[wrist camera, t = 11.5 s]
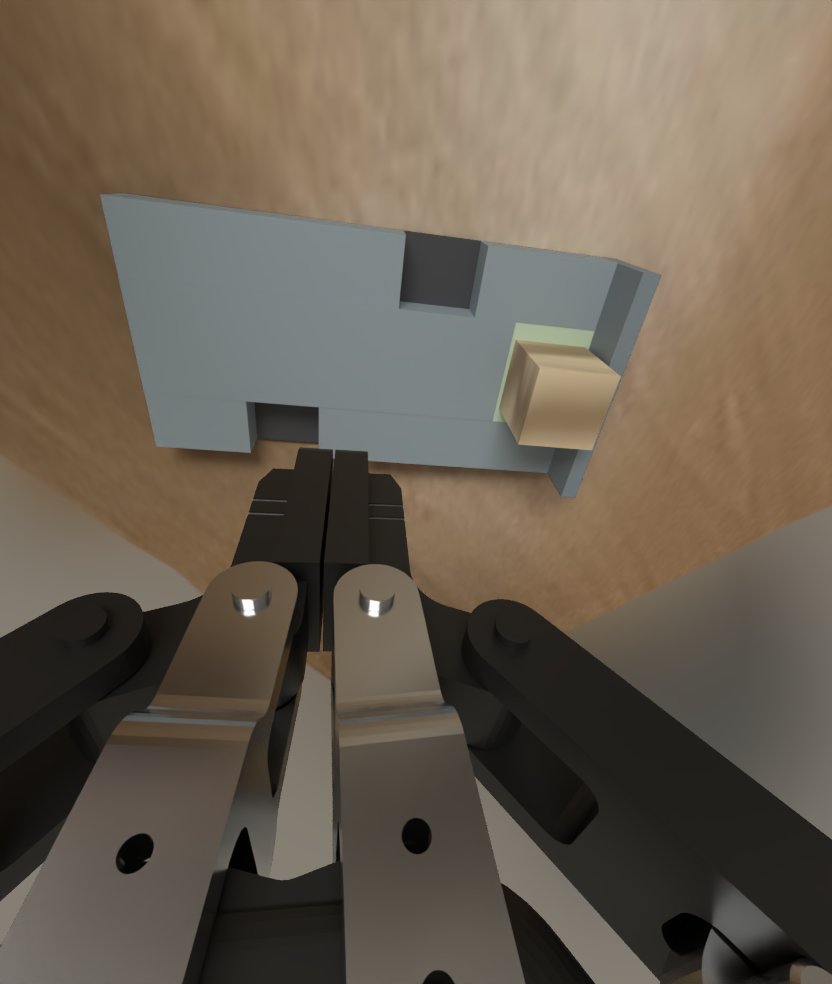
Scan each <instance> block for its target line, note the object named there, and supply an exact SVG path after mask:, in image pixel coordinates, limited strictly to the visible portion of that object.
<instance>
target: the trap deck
mask: <svg viewBox="0 0 832 984" xmlns="http://www.w3.org/2000/svg"><path fill="white" fill-rule="evenodd" d="M100 197H101V202H102V206H103V210H104V215H105V219H106V224H107V228H108V233H109V237H110V242H111V246H112V251H113V255H114V260H115V264H116V269H117V273H118V277H119V278H118V279H119V283H120V288H121V292H122V297H123V301H124V305H125V310H126V314H127V319H128V323H129V328H130V332H131V337H132V341H133V346H134V350H135V354H136V359H137V363H138V368H139V372H140V377H141V381H142V386H143V390H144V393H145V398H146V402H147V407H148V411H149V416H150V420H151V425H152V429H153V434H154V438H155V443H156V447H171V448H186V449H201V450H215V451H230V452H245V453H251V451H252V449H253V447H254V445H255V443H256V440H257V438H258V439H272V440H286V441H300V442H314V443H319V449H333V459H335V450H353V451H368V461H377V462H392V463H406V464H421V465H436V466H450V467H465V468H480V469H494V470H509V471H524V472H539V473H548V475H549V477H550V479H551V480H552V482H553V484H554V485H555V487H556V489H557V491H558V492H559V494H560V496H561V497H570V498H575V497H576V494H577V491H578V489H579V486H580V484H581V481H582V479H583V476H584V473H585V471H586V468H587V466H588V463H589V461H590V458H591V455H592V453H593V450H594V448H595V445H596V443H597V440H598V437H599V435H600V432H601V430H602V427H603V425H604V422H605V419H606V417H607V414H608V412H609V409H610V407H611V404H612V401H613V399H614V396H615V394H616V391H617V389H618V386H619V383H620V381H621V378H622V376H623V373H624V370H625V368H626V365H627V363H628V360H629V358H630V355H631V352H632V350H633V347H634V345H635V342H636V340H637V337H638V334H639V332H640V329H641V327H642V324H643V322H644V319H645V316H646V314H647V311H648V309H649V306H650V304H651V301H652V298H653V296H654V293H655V291H656V288H657V286H658V283H659V280H660V278H661V275H660V274H657V273H654V272H652V271H649V270H646V269H643V268H640V267H637V266H635V265H632V264H629V263H626V262H623V261H620V260H617V259H612V258H605V257H597V256H590V255H582V254H575V253H567V252H560V251H552V250H545V249H537V248H530V247H522V246H515V245H507V244H500V243H492V242H485V241H477V240H470V239H462V238H455V237H447V236H440V235H432V234H425V233H417V232H410V231H403V230H395V229H388V228H380V227H373V226H365V225H358V224H350V223H343V222H335V221H328V220H320V219H313V218H305V217H298V216H290V215H283V214H275V213H268V212H260V211H253V210H245V209H238V208H230V207H223V206H215V205H208V204H200V203H193V202H185V201H178V200H170V199H163V198H155V197H148V196H140V195H133V194H126V193H116V194H102V195H100ZM516 340H523V341H532V342H541V343H550V344H560V345H569V346H578V347H586V348H587V349H588V350H589V351H590V352H592V353H593V354H594V355H595V356H597V357H598V358H599V359H600V360H601V361H603V362H604V363H605V364H606V365H607V366H609V367H610V368H611V369H612V370H614V371H615V372H616V373H617V374H618V375H620V376H621V377H620V380H619V382H618V385H617V388H616V390H615V393H614V395H613V398H612V400H611V403H610V406H609V408H608V411H607V413H606V416H605V418H604V421H603V423H602V426H601V429H600V431H599V434H598V436H597V439H596V441H595V444H594V446H593V449H592V450H582V449H569V448H556V447H544V446H531V445H518V443H517V441H516V439H515V437H514V436H513V434H512V432H511V430H510V428H509V426H508V424H507V422H506V420H505V418H504V417H503V415H502V413H501V411H500V409H499V406H500V402H501V398H502V394H503V390H504V386H505V382H506V377H507V373H508V369H509V365H510V361H511V357H512V353H513V349H514V345H515V341H516Z"/></svg>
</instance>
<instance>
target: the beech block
mask: <svg viewBox="0 0 832 984" xmlns="http://www.w3.org/2000/svg"><path fill="white" fill-rule="evenodd" d="M620 377H621V376H620V375H618V374H617V373H616V372H615V371H614V370H612V369H611V368H610V367H609V366H607V365H606V364H605V363H604V362H603V361H601V360H600V359H599V358H598V357H597V356H595V355H594V354H593V353H592V352H590V351H589V350H588V349H587V348H586V347H578V346H569V345H560V344H550V343H541V342H532V341H523V340H516V341H515V345H514V349H513V353H512V357H511V361H510V365H509V369H508V373H507V377H506V382H505V386H504V390H503V394H502V398H501V402H500V406H499V409H500V411H501V413H502V415H503V417H504V418H505V420H506V422H507V424H508V426H509V428H510V430H511V432H512V434H513V436H514V437H515V439H516V441H517V443H518V445H531V446H544V447H556V448H569V449H582V450H592V449H593V446H594V444H595V441H596V439H597V436H598V434H599V431H600V429H601V426H602V423H603V421H604V418H605V416H606V413H607V411H608V408H609V406H610V403H611V400H612V398H613V395H614V393H615V390H616V388H617V385H618V382H619V380H620Z"/></svg>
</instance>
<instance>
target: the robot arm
mask: <svg viewBox="0 0 832 984" xmlns="http://www.w3.org/2000/svg"><path fill="white" fill-rule="evenodd" d="M322 619H323V651H332V668H331V735H332V788H333V789H332V790H333V792H332V794H333V863H332V864H330V865H327V866H325V867H322V868H319V869H317V870H314V871H312V872H309V873H307V874H304V875H302V876H299V877H296V878H293V879H290V880H282V881H281V880H275V879H271V878H269V876H270V870H271V865H272V859H273V853H274V846H275V838H276V827H277V815H278V808H279V802H280V796H281V791H282V786H283V781H284V776H285V771H286V766H287V761H288V756H289V751H290V746H291V741H292V736H293V731H294V726H295V721H296V716H297V711H298V706H299V701H300V697H301V688H302V682H303V679H304V674H305V666H306V658H307V652H319V651H320V640H321V629H322ZM475 777H476V778H477V779H478V780H479V781H480V782H481V783H482V785H483V786H484V787H485V788H486V789H487V790H488V791H489V792H490V794H491V795H492V796H493V797H494V798H495V799H496V800H497V801H498V802H499V804H500V805H501V806H502V807H503V808H504V809H505V810H506V811H507V812H508V813H509V815H510V816H511V817H512V818H513V819H514V820H515V821H516V822H517V823H518V824H519V826H520V827H521V828H522V829H523V830H524V831H525V832H526V833H527V834H528V835H529V837H530V838H531V839H532V840H533V841H534V842H535V843H536V844H537V846H538V847H539V848H540V849H541V850H542V851H543V852H544V853H545V854H546V856H547V857H548V858H549V859H550V860H551V861H552V862H553V863H554V864H555V865H556V867H557V868H558V869H559V870H560V871H561V872H562V873H563V874H564V875H565V877H566V878H567V879H568V880H569V881H570V882H571V883H572V884H573V885H574V886H575V888H576V889H577V890H578V891H579V892H580V893H581V894H582V895H583V897H584V898H585V899H586V900H587V901H588V902H589V903H590V904H591V905H592V906H593V908H594V909H595V910H596V911H597V912H598V913H599V914H600V915H601V916H602V918H603V919H604V920H605V921H606V922H607V923H608V924H609V925H610V926H611V928H612V929H613V930H614V931H615V932H616V933H617V934H618V935H619V936H620V937H621V939H622V940H623V941H624V942H625V943H626V944H627V945H628V946H629V947H630V949H631V950H632V951H633V952H634V953H635V954H636V955H637V956H638V957H639V958H640V960H641V961H642V962H643V963H644V964H645V965H646V966H647V967H648V969H649V970H650V971H651V972H652V973H653V974H654V975H655V976H656V977H657V978H658V980H659V981H660V984H832V840H831V839H830V838H829V837H827V836H826V835H825V834H824V833H822V832H821V831H820V830H819V829H817V828H816V827H814V826H813V825H812V824H811V823H809V822H808V821H807V820H806V819H804V818H803V817H802V816H800V815H799V814H798V813H796V812H795V811H794V810H792V809H791V808H790V807H789V806H787V805H786V804H785V803H784V802H782V801H781V800H779V799H778V798H777V797H776V796H774V795H773V794H772V793H771V792H769V791H768V790H767V789H765V788H764V787H763V786H761V785H760V784H759V783H758V782H756V781H755V780H754V779H752V778H751V777H750V776H748V775H747V774H746V773H744V772H743V771H742V770H741V769H739V768H738V767H737V766H736V765H734V764H733V763H732V762H730V761H729V760H728V759H726V758H725V757H724V756H723V755H721V754H720V753H719V752H717V751H716V750H715V749H713V748H712V747H711V746H709V745H708V744H707V743H706V742H704V741H703V740H702V739H700V738H699V737H698V736H697V735H695V734H694V733H693V732H691V731H690V730H689V729H688V728H686V727H685V726H684V725H682V724H681V723H680V722H678V721H677V720H676V719H675V718H673V717H672V716H671V715H669V714H668V713H666V711H664V710H663V709H662V708H660V707H659V706H658V705H656V704H655V703H654V702H653V701H651V700H650V699H649V698H647V697H646V696H645V695H643V694H642V693H641V692H640V691H638V690H637V689H636V688H634V687H633V686H632V685H630V684H629V683H627V681H625V680H624V679H623V678H621V677H620V676H619V675H617V674H616V673H615V672H614V671H612V670H611V669H610V668H608V667H607V666H606V665H604V664H603V663H602V662H601V661H599V660H598V659H597V658H595V657H594V656H593V655H592V654H590V653H589V652H588V651H586V650H585V649H584V648H582V647H581V646H580V645H579V644H577V643H576V642H575V641H573V640H572V639H571V638H570V637H568V636H567V635H566V634H564V633H563V632H562V631H560V630H559V629H558V628H557V627H555V626H554V625H553V624H551V623H550V622H549V621H547V620H546V619H545V618H544V617H542V616H541V615H540V614H538V613H537V612H536V611H534V610H533V609H531V608H530V607H528V606H526V605H524V604H521V603H518V602H515V601H511V600H504V599H497V600H490V601H487V602H484V603H482V604H480V605H479V606H477V607H476V608H475V609H474V610H473V612H472V613H469V612H465V611H462V610H458V609H455V608H451V607H448V606H445V605H442V604H440V603H438V602H435V601H433V600H432V599H430V598H429V597H427V596H426V595H425V594H424V593H422V592H421V591H420V590H419V588H418V587H417V586H416V584H415V583H414V581H413V579H412V577H411V573H410V566H409V557H408V548H407V539H406V530H405V521H404V511H403V502H402V493H401V488H400V487H399V485H398V484H397V483H396V481H395V480H394V479H393V477H392V476H391V475H389V474H370V473H368V451H353V450H335V459H334V468H333V449H318V448H301V447H300V448H299V450H298V454H297V459H296V463H295V467H294V470H292V469H272V470H271V471H270V472H269V473H268V474H267V475H266V476H265V477H264V478H262V479H261V480H260V481H259V483H258V486H257V489H256V492H255V495H254V500H253V501H252V504H251V507H250V510H249V515H248V516H247V519H246V522H245V525H244V528H243V531H242V534H241V538H240V541H239V544H238V547H237V550H236V553H235V556H234V559H233V562H232V565H231V567H230V568H228V569H226V570H225V571H223V572H221V573H220V574H219V575H217V576H216V577H215V578H214V579H213V580H212V581H211V582H210V584H209V585H208V587H207V589H206V590H205V592H204V595H202V596H200V597H198V598H195V599H193V600H190V601H188V602H184V603H180V604H176V605H172V606H168V607H163V608H159V609H155V610H150V611H147V612H142V609H141V607H140V605H139V604H138V603H137V602H136V601H135V600H134V599H132V598H130V597H128V596H126V595H123V594H119V593H109V592H105V593H94V594H89V595H85V596H81V597H77V598H75V599H72V600H70V601H67V602H65V603H63V604H61V605H59V606H57V607H55V608H54V609H52V610H50V611H48V612H46V613H45V614H43V615H41V616H39V617H38V618H36V619H34V620H32V621H30V622H28V623H27V624H25V625H23V626H21V627H19V628H18V629H16V630H14V631H12V632H11V633H9V634H7V635H5V636H3V637H1V638H0V901H1V900H2V899H3V898H4V897H5V896H6V895H8V894H9V893H10V892H11V891H12V890H13V889H14V888H15V887H17V886H18V885H19V884H20V883H21V882H22V881H23V880H24V879H25V878H26V877H27V876H29V875H30V874H31V873H32V872H33V871H34V870H35V869H36V868H37V867H39V866H40V865H41V864H42V863H43V862H44V861H45V862H44V864H43V866H42V868H41V870H40V871H39V873H38V875H37V877H36V879H35V881H34V883H33V885H32V887H31V889H30V891H29V893H28V895H27V897H26V899H25V901H24V902H23V904H22V906H21V908H20V910H19V912H18V914H17V916H16V918H15V919H14V921H13V923H12V925H11V927H10V929H9V931H8V933H7V935H6V937H5V939H4V941H3V942H2V944H1V945H0V984H595V983H594V982H593V980H592V979H591V978H590V977H589V975H588V974H587V973H586V971H585V970H584V969H583V968H582V966H581V965H580V964H579V962H578V961H577V960H576V959H575V957H574V956H573V955H572V954H571V952H570V951H569V950H568V948H567V947H566V946H565V945H564V943H563V942H562V941H561V939H560V938H559V937H558V936H557V934H555V932H554V931H553V930H552V928H551V927H550V926H549V925H548V924H547V923H546V921H545V920H544V919H543V918H542V917H541V916H540V915H539V914H538V913H537V912H536V911H535V910H534V909H533V908H532V907H531V906H530V905H529V904H528V903H527V902H526V901H524V900H523V899H522V898H521V897H519V896H518V895H517V894H516V893H514V892H513V891H512V890H511V889H509V888H508V887H507V886H505V885H504V884H502V883H501V882H500V878H499V874H498V870H497V866H496V862H495V858H494V853H493V849H492V845H491V841H490V837H489V833H488V829H487V825H486V821H485V817H484V812H483V808H482V804H481V800H480V796H479V792H478V788H477V784H476V780H475Z"/></svg>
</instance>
